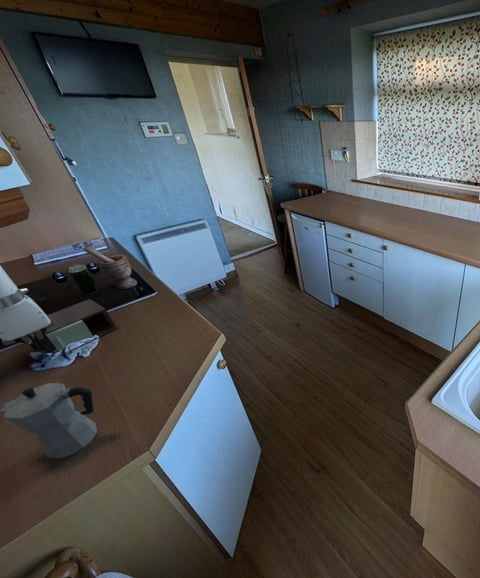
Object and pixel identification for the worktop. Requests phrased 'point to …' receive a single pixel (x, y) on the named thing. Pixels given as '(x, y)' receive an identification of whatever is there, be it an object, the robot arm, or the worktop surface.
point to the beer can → (83, 279)
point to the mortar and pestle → (115, 268)
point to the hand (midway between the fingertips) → (42, 349)
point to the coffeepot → (53, 418)
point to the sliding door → (69, 335)
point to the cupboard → (85, 311)
